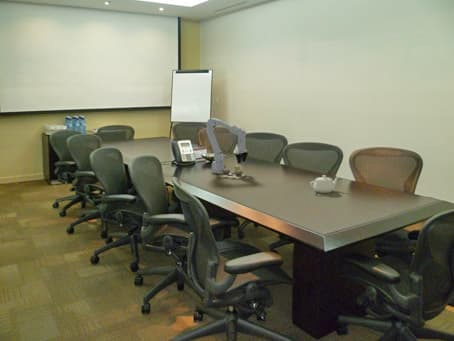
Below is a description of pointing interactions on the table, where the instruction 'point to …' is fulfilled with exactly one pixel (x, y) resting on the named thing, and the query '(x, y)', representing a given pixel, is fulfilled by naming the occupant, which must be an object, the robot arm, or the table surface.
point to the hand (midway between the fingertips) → (241, 162)
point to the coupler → (238, 168)
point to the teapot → (324, 184)
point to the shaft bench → (232, 174)
